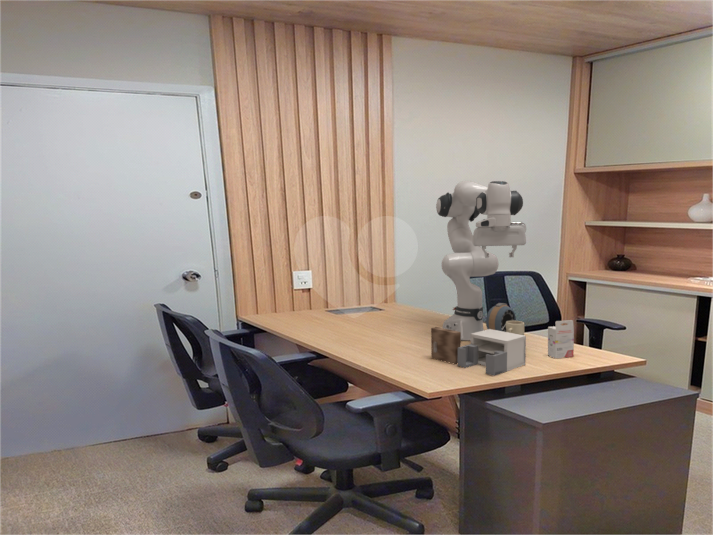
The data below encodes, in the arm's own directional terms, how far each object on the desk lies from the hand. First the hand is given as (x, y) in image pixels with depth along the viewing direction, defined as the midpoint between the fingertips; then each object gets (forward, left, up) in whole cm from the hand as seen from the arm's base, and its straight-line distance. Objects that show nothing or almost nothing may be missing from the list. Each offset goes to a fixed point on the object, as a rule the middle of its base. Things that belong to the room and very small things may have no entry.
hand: (499, 257), depth 201 cm
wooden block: (-9, -22, -39) cm, 46 cm away
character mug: (+4, +5, -39) cm, 40 cm away
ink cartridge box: (+18, +15, -39) cm, 46 cm away
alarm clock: (-10, +16, -39) cm, 44 cm away
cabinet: (+7, -15, -39) cm, 42 cm away
